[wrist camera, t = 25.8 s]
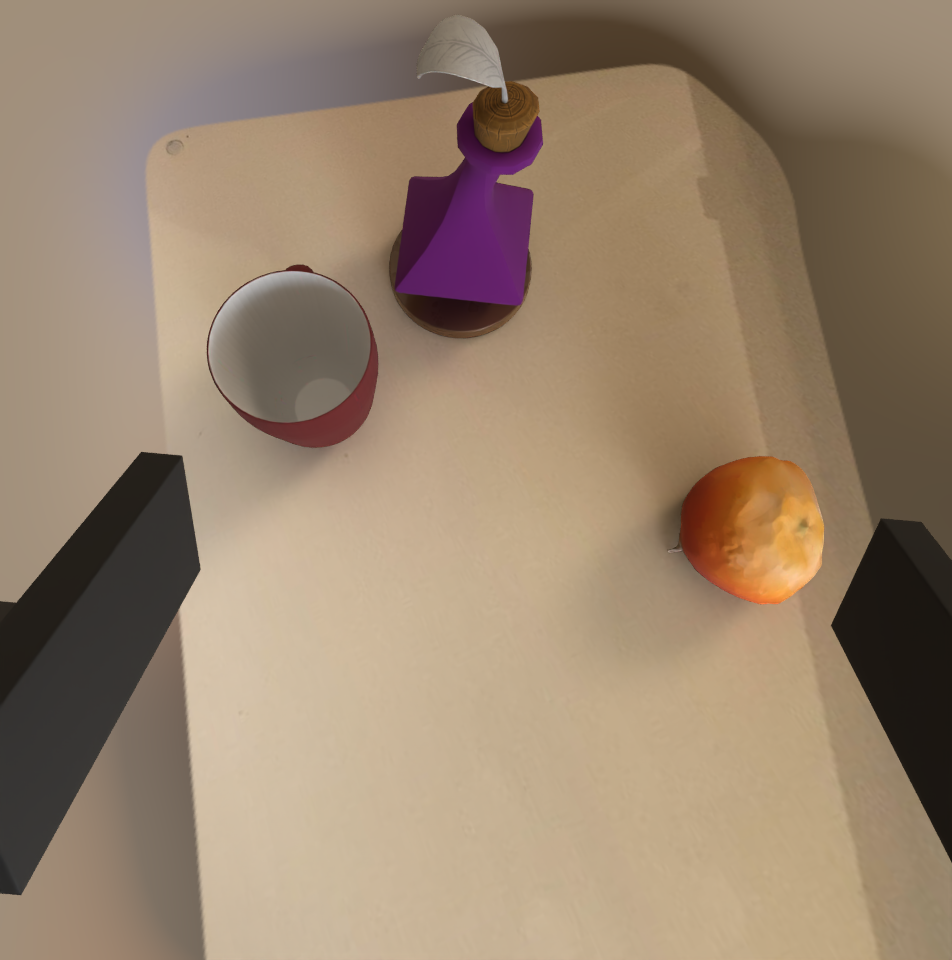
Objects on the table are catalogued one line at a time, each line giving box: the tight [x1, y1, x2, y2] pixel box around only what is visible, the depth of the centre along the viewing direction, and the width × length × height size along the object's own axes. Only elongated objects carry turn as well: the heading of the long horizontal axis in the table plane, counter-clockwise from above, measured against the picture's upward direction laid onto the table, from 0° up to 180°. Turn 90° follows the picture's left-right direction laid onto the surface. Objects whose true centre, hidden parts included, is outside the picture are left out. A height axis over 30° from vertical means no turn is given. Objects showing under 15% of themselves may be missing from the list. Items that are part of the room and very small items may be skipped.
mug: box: [207, 265, 378, 448], centre depth 41 cm, size 11×8×10 cm
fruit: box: [668, 456, 824, 604], centre depth 42 cm, size 8×8×8 cm
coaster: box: [390, 230, 532, 338], centre depth 47 cm, size 9×9×1 cm
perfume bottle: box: [394, 15, 543, 306], centre depth 38 cm, size 8×8×18 cm
